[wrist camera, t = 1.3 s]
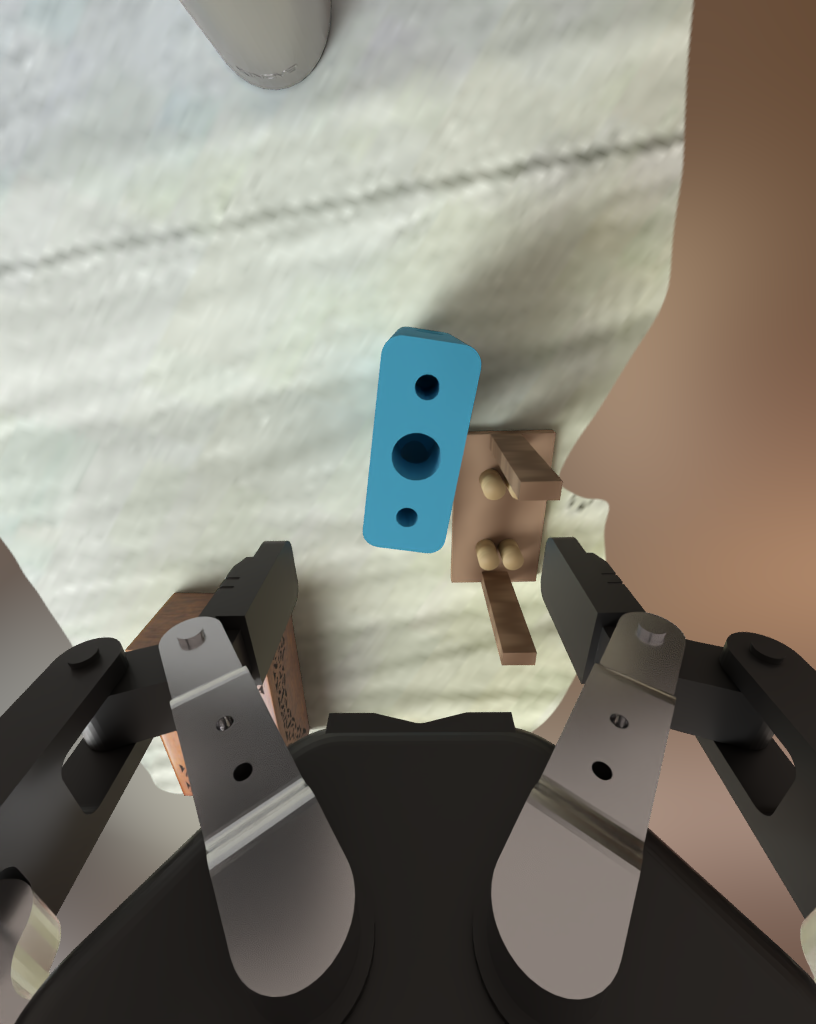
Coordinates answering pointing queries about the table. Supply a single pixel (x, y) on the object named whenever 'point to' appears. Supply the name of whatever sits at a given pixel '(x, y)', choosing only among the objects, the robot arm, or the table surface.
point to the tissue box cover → (277, 690)
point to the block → (418, 438)
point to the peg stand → (503, 525)
